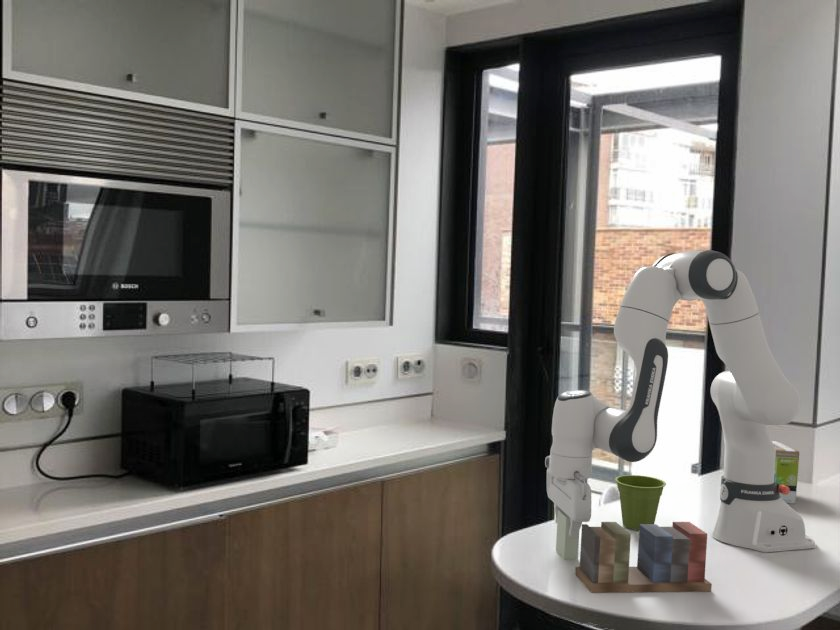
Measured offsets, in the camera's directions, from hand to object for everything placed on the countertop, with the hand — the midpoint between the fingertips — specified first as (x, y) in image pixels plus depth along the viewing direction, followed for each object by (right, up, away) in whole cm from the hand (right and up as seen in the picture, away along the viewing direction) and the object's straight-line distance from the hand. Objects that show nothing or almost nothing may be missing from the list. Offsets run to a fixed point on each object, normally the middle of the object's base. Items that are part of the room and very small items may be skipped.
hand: (566, 530), depth 190 cm
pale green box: (0, -5, 0) cm, 5 cm away
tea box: (+66, -5, +59) cm, 89 cm away
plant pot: (+21, -5, +23) cm, 32 cm away
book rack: (+12, -7, -15) cm, 21 cm away
